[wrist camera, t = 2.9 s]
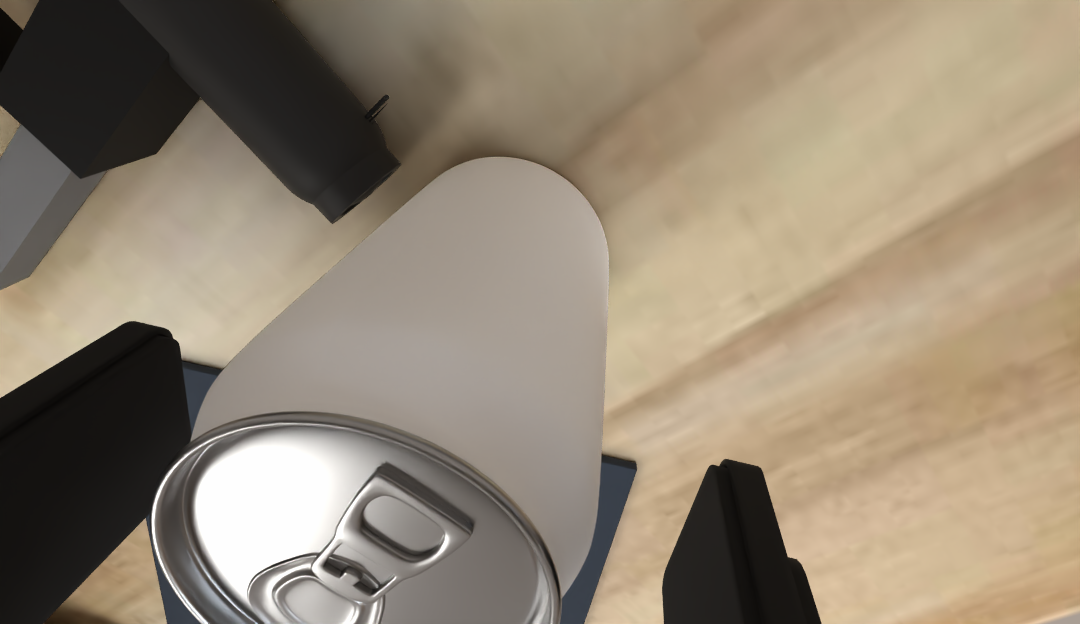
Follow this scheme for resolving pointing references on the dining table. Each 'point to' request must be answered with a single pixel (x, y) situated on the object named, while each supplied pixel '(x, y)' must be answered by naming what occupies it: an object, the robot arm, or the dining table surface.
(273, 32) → the door handle
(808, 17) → the dining table surface
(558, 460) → the can
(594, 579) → the mat
